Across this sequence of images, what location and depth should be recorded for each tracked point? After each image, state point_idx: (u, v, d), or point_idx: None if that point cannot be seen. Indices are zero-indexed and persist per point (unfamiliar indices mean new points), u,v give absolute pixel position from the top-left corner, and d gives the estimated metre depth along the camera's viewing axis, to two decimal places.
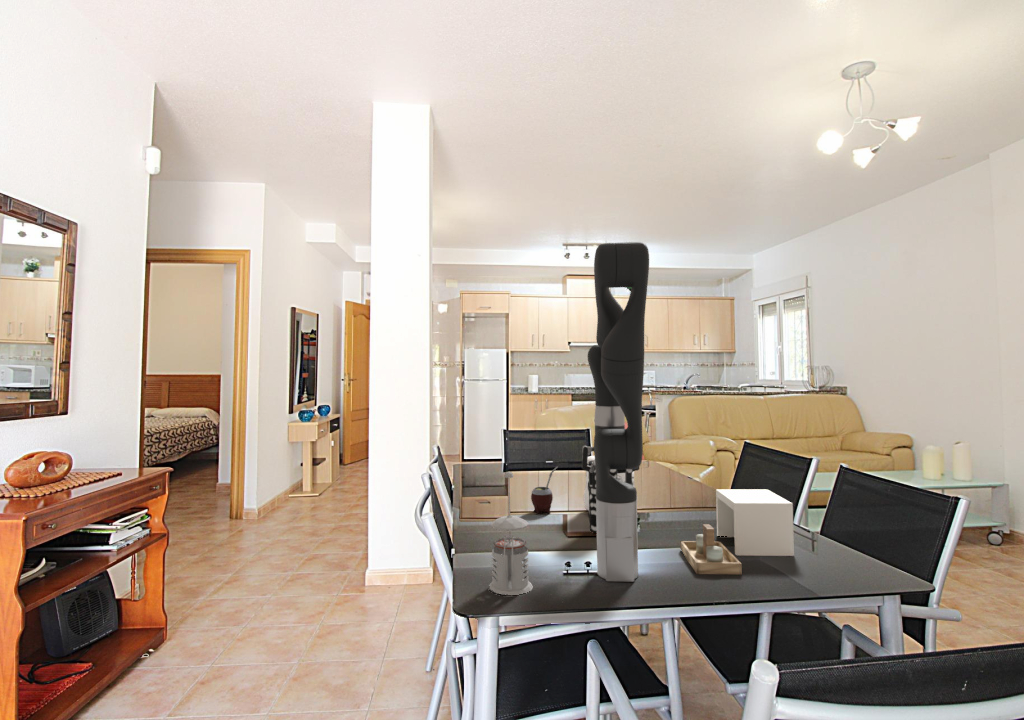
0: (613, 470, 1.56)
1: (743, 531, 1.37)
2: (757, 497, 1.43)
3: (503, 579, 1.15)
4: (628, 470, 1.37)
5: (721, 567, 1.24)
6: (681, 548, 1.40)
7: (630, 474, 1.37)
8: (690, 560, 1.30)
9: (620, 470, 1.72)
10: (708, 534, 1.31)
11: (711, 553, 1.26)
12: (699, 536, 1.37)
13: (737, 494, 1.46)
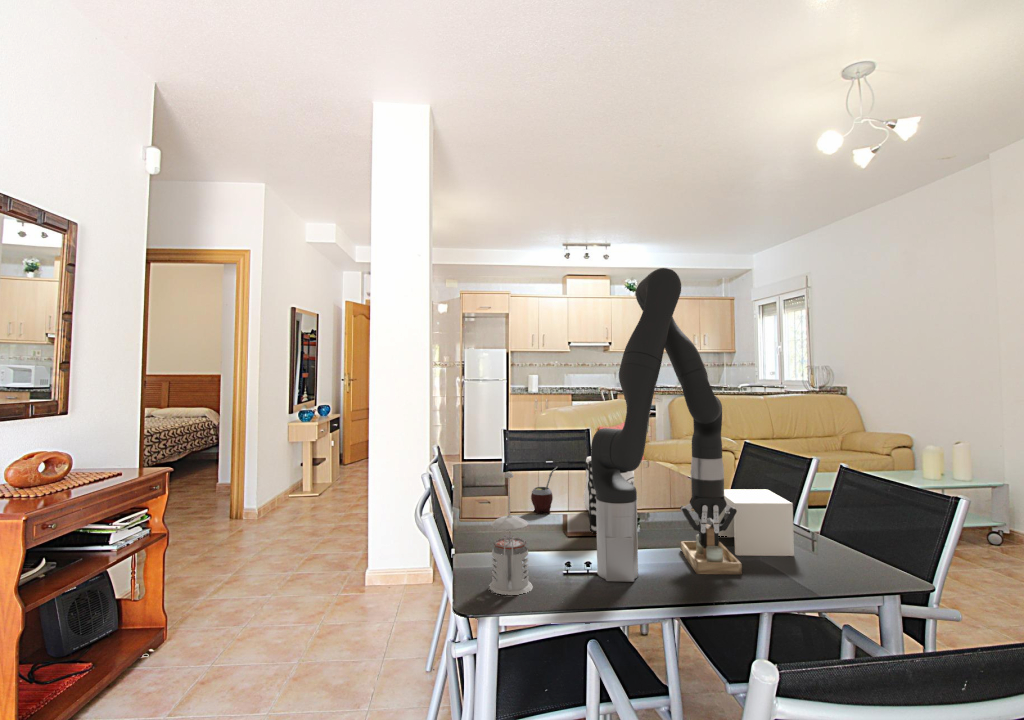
0: None
1: (743, 531, 1.37)
2: (757, 497, 1.43)
3: (503, 579, 1.15)
4: (715, 530, 1.31)
5: (721, 567, 1.24)
6: (681, 548, 1.40)
7: (717, 534, 1.32)
8: (690, 560, 1.30)
9: (620, 470, 1.72)
10: (708, 534, 1.31)
11: (711, 553, 1.26)
12: None
13: (737, 494, 1.46)
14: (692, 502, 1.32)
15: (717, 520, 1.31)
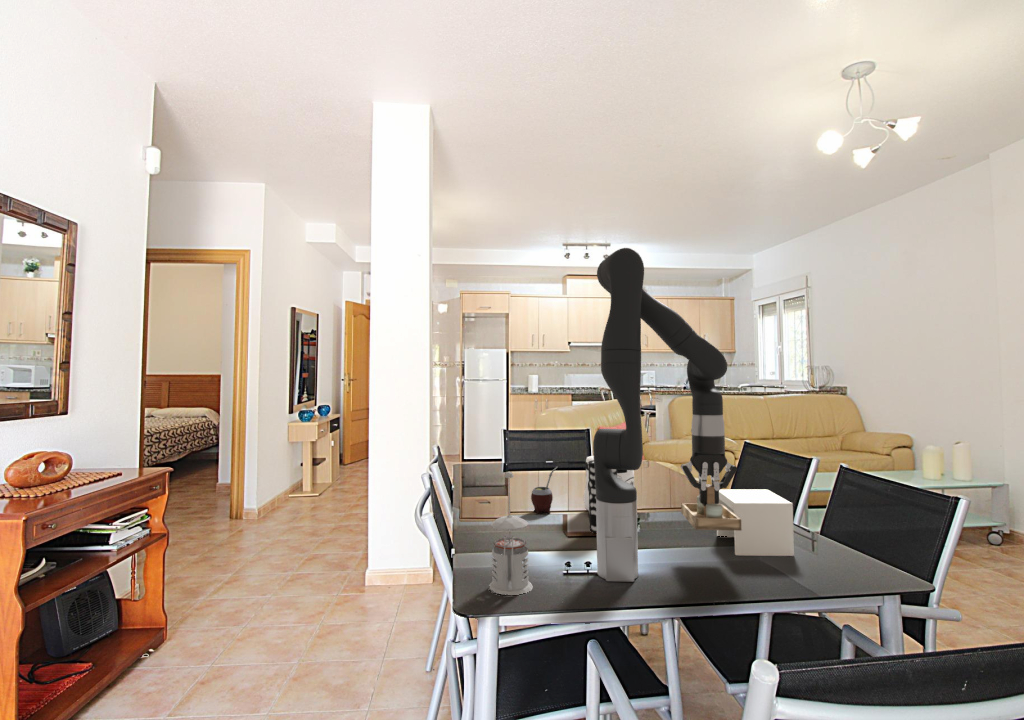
0: (613, 470, 1.56)
1: (743, 531, 1.37)
2: (757, 497, 1.43)
3: (503, 579, 1.15)
4: (715, 488, 1.31)
5: (720, 523, 1.24)
6: (682, 510, 1.39)
7: (717, 492, 1.31)
8: (690, 518, 1.30)
9: (620, 470, 1.72)
10: (708, 492, 1.30)
11: (711, 509, 1.26)
12: None
13: (737, 494, 1.46)
14: (692, 459, 1.32)
15: (717, 477, 1.30)
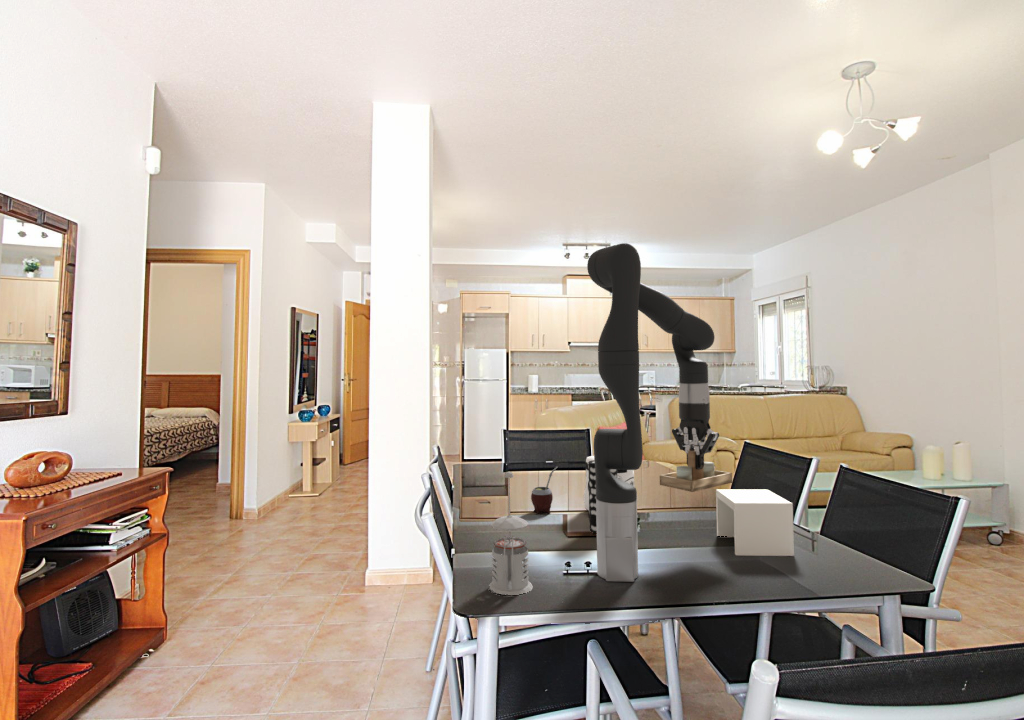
0: (613, 470, 1.56)
1: (743, 531, 1.37)
2: (757, 497, 1.43)
3: (503, 579, 1.15)
4: (696, 452, 1.38)
5: (677, 482, 1.35)
6: None
7: (699, 456, 1.38)
8: None
9: (620, 470, 1.72)
10: (688, 456, 1.39)
11: None
12: None
13: (737, 494, 1.46)
14: None
15: (696, 442, 1.38)
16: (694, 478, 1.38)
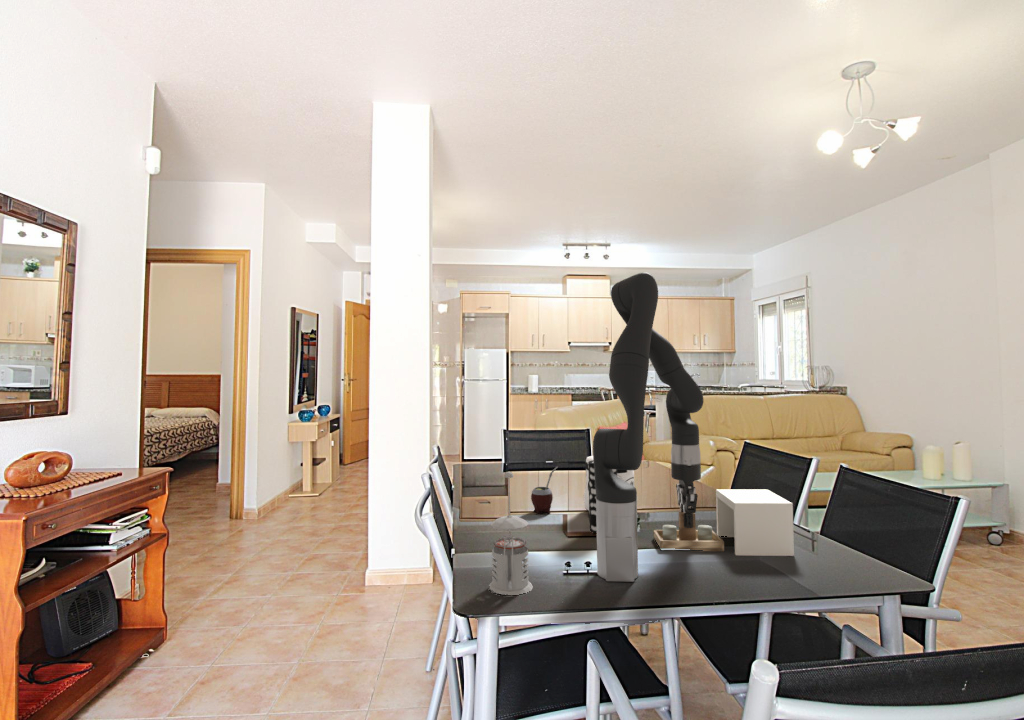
0: (613, 470, 1.56)
1: (743, 531, 1.37)
2: (757, 497, 1.43)
3: (503, 579, 1.15)
4: None
5: (657, 539, 1.46)
6: None
7: (686, 515, 1.43)
8: None
9: (620, 470, 1.72)
10: None
11: None
12: (702, 525, 1.46)
13: (737, 494, 1.46)
14: None
15: (681, 501, 1.44)
16: (681, 539, 1.45)
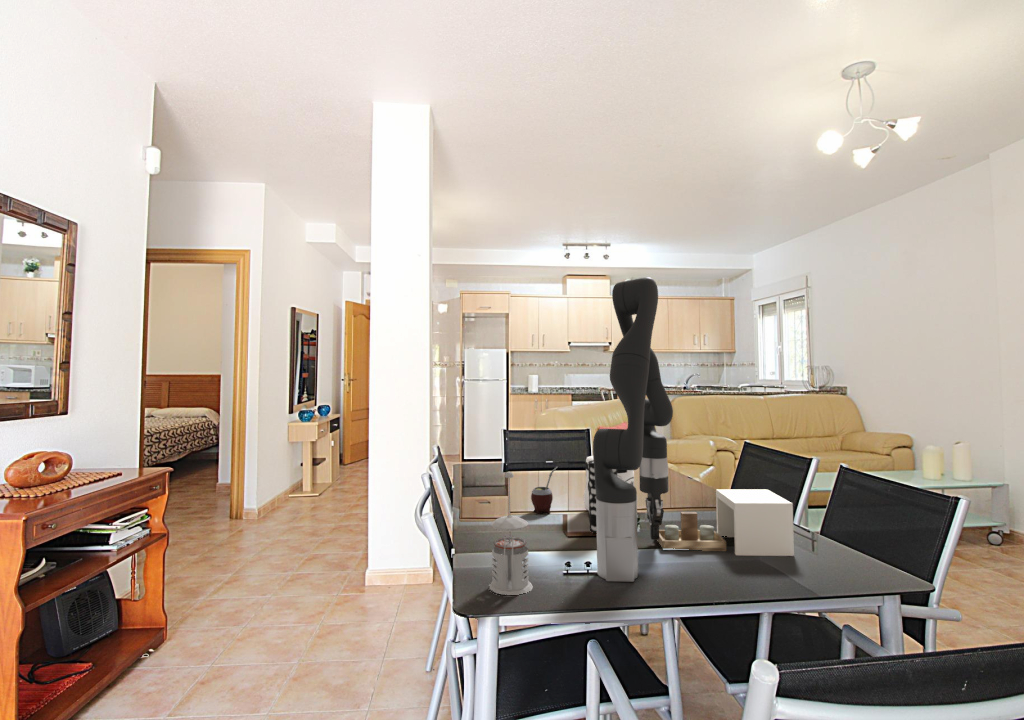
0: (613, 470, 1.56)
1: (743, 531, 1.37)
2: (757, 497, 1.43)
3: (503, 579, 1.15)
4: (650, 522, 1.46)
5: (659, 539, 1.45)
6: None
7: (652, 527, 1.45)
8: None
9: (620, 470, 1.72)
10: None
11: None
12: (704, 525, 1.46)
13: (737, 494, 1.46)
14: None
15: (648, 513, 1.45)
16: (683, 539, 1.45)
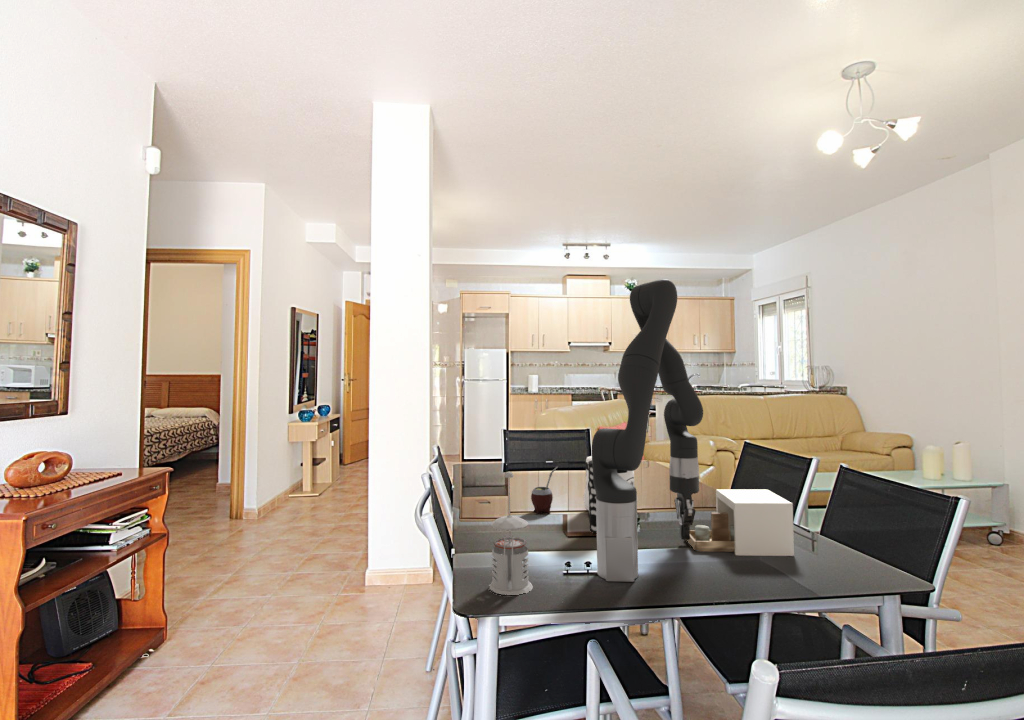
0: None
1: (743, 531, 1.37)
2: (757, 497, 1.43)
3: (503, 579, 1.15)
4: (680, 522, 1.45)
5: (689, 539, 1.45)
6: None
7: (683, 527, 1.45)
8: None
9: (620, 470, 1.72)
10: (711, 517, 1.45)
11: None
12: None
13: (737, 494, 1.46)
14: None
15: (679, 513, 1.45)
16: (714, 539, 1.44)
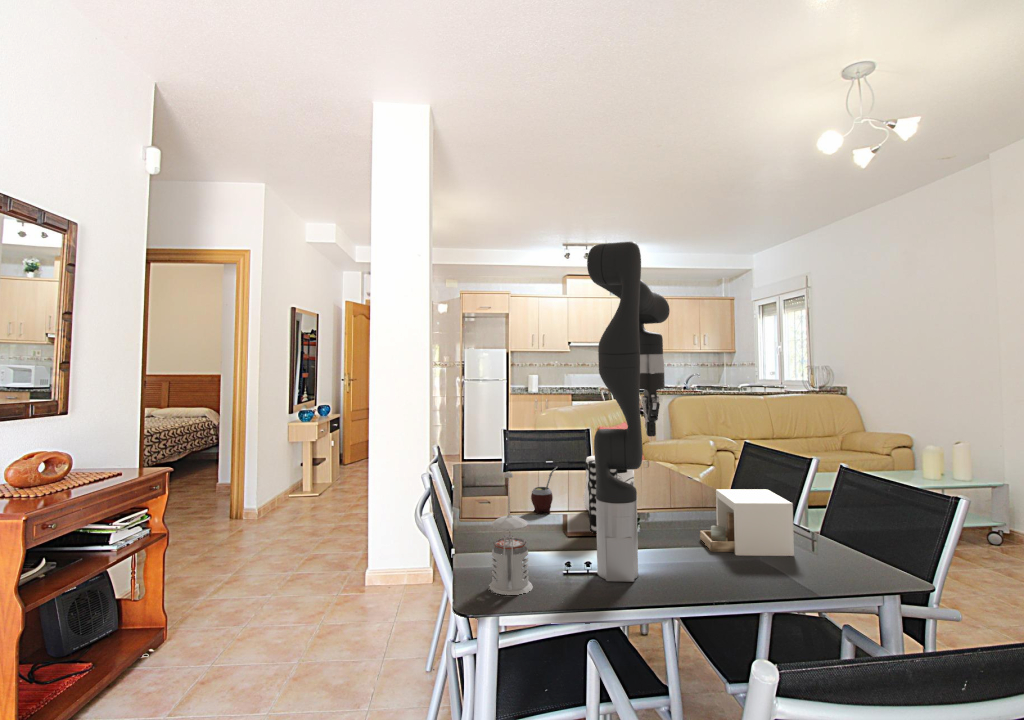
0: (613, 470, 1.56)
1: (743, 531, 1.37)
2: (757, 497, 1.43)
3: (503, 579, 1.15)
4: (646, 419, 1.46)
5: (705, 540, 1.44)
6: None
7: (649, 424, 1.46)
8: None
9: (620, 470, 1.72)
10: (727, 517, 1.45)
11: None
12: None
13: (737, 494, 1.46)
14: None
15: (644, 410, 1.46)
16: (731, 540, 1.44)
